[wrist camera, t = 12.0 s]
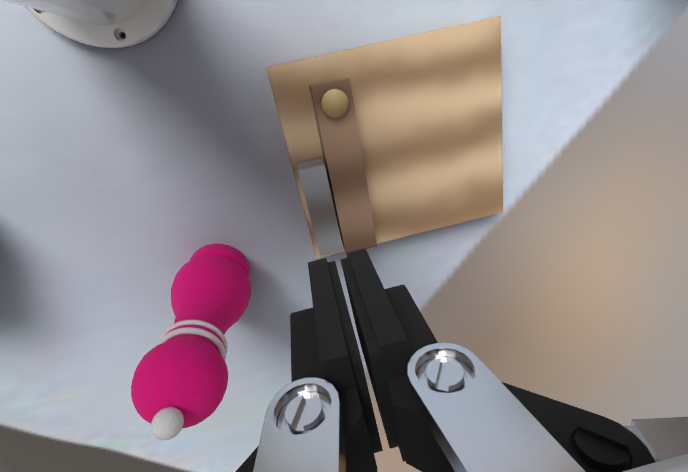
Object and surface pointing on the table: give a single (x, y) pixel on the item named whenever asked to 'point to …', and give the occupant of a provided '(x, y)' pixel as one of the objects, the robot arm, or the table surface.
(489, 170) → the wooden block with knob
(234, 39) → the table surface
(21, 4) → the robot arm
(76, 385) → the table surface
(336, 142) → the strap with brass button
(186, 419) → the pepper mill
